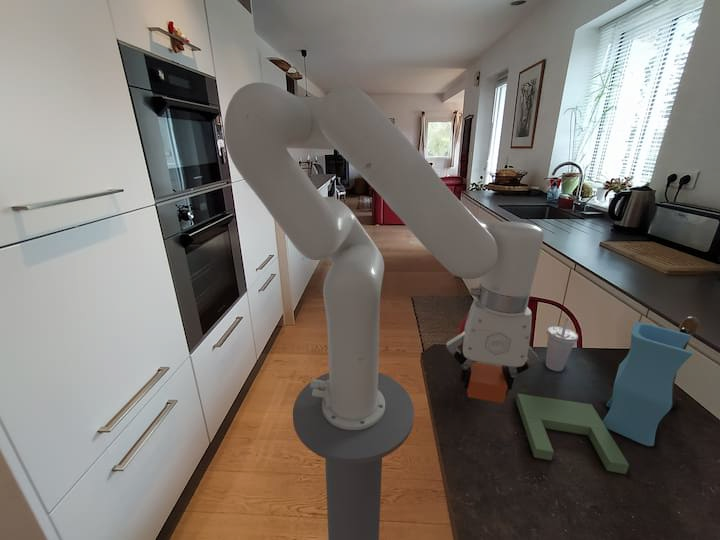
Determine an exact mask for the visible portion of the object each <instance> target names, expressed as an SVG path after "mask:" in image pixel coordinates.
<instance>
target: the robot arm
mask: <svg viewBox="0 0 720 540" xmlns="http://www.w3.org/2000/svg"><path fill="white" fill-rule="evenodd" d="M223 129H224V132H223V134H224V140H225V146H226V149H227V152H228V155H229V157H230V159H231V162H232V163H233V165H234V167H235V168H236V170H237V172H238V173H239V174H240V176H241V178H242V179H243V180H244V182H245V183H246V184H247V185H248V186H249V187H250V189H251V190H252V191H253V193H254V194H255V195H256V196H257V198H258V199H259V201H260V202H261V203H262V204H263V205H264V207H265V208H266V210H267V211H268V213H269V214H270V215H271V218H273V220H274V221H275V222H276V223H277V225H278V226H279V228H280V229H281V230H282V232H283V233H284V234H285V236H286V237H287V238H288V240H289V241H290V242H291V243H292V245H293V246H294V248H295V249H296V250H297V251H298V252H299V253H300V254H301V256H303V257H305V258H306V259H309V260H312V261H321V260H325V259H327V258H328V260H329V261H330V262H331V266H330V268H329V269H328V271H327V273H326V275H325V278H324V281H323V288H322V296H323V305H324V310H325V318H326V329H327V330H326V331H327V348H328V351H327V352H328V373H329V380H327V381H321V380H317V379H316V378H312V379H311V380H310V382H311V384H310V388H311V389H313V391H312V396H314V397H322V398H323V401H322V410H323V414H324V416H325V418H326V419H327V420H328V421H329V422H330V423H331V424H332V425H334V426H336V427H338V428H341V429H345V430H362V429H366V428H369V427H371V426H373V425H374V424H376V423H377V422H378V421H379V420H380V419H381V418H382V416H383V414H384V411H385V399H384V397H383V395H382V393H381V392H380V391H379V390H378V372H379V364H380V363H379V362H380V326H381V325H380V320H381V317H380V316H381V315H380V314H381V313H380V312H381V310H380V309H381V293H382V284H383V279H384V274H385V273H384V272H385V260H384V258H383V256H382V253H381V251H380V250H379V248H378V246H377V245H376V244H375V242H374V241H373V240H372V238H371V237H370V235H369V234H368V232H367V230H366V229H365V228H364V226H363V225H362V224H361V223H360V221H359V219H358V218H357V216H356V215H355V214H354V213H353V211H352V210H351V208H350V207H348V205H346V204H345V203H344V202H343V201H342V200H340V199H338V198H335V197H332V196H323V195H322V194H321V193H320V191H319V190H318V189H317V188H316V186H315V184H314V183H313V182H312V180H311V179H310V177H309V176H308V174H307V173H306V171H305V170H304V169H303V168H302V167H301V165H300V164H299V163H298V162H296V160H295V159H294V158H293V156H291V154H290V152H289V150H288V149H311V150H335V151H337V152H338V153H339V155H341V156H342V157H343V159H345V161H346V162H347V163H349V165H350V166H352V168H353V169H354V170H355V171H356V172H357V173H358V174H359V175H360V176H361V177H362V178H363V179H364V180H365V181H366V182H367V184H368V185H370V186H371V188H372V189H373V190H374V191H375V192H376V193H377V194H378V195H379V196H380V197H381V198H382V200H383V201H384V202H385V203H386V205H387V206H388V207H389V208H390V210H391V211H392V212H393V213H394V214H395V215H396V216H397V217H398V218H399V219H400V220H401V222H402V223H403V224H404V225H405V227H407V229H408V230H409V231H410V232H411V233H412V235H413V236H414V237H415V238H416V239H417V240H418V241H419V243H421V245H423V247H424V248H425V249H426V250H427V251H428V252H429V253H430V254H431V255H432V256H433V257H434V258H435V260H437V261H438V262H439V263H440V264H441V265H442V266H443V267H444V268H445V269H446V270H447V271H448V272H449V273H451V274H452V275H454V276H456V277H457V278H458V277H459V278H460V279H466V280H473V279H479V278H481V280H480V282H479V285H477V286H476V287H470V289H469V296H474V297H475V298H474V299H473V301H472V303H471V306H470V308H469V310H468V314H467V318H466V319H465V324H464V327H463V331H462V332H461V333H460V334H459V333H458V335H456V336H455V337H453V338H452V339H450V340H448V341H446V345H445V346H446V349H447V350H448V352H449V353H450V354H451V355H452V356H453V357H454V359H455V361H457V362H458V364H459V365H460V366H461V369H460V373H459V382H462V383H463V384H462V385H463V389H465V390H467V388H468V385H469V380H470V376H471V365H472V363H473V362H477V361H478V362H484V363H490V364H497V365H502V367H503V368H502V370H503V374H504V377H505V381H506V384H507V387H508V388H507V392H506V396H505V397H508V393H509V390H512V388H513V384H514V380H515V379H516V378H518V377H519V374H521V373H523V372H525V371H526V370H528V369H529V368H531V367H533V366H536V365H537V364H539V363H540V361H541V360H540V358H539V356H538V355H537V353H536V352H535V351H534V350H533V348H532V347H531V346H530V343H531V342H530V341H531V334H532V323H533V322H532V320H533V314H532V311H531V309H530V308H529V307H528V305H529V300H530V297H531V292H532V288H533V285H534V280H535V275H536V271H537V268H538V264H539V259H540V255H541V250H542V246H543V242H544V231H543V230H542V229H541V228H540V227H539V226H537V225H534V224H531V223H526V222H521V221H500V222H498V221H492V220H486V219H482V218H476V216H474V215H473V213H471V211H470V210H469V209H468V208H467V207H466V206H465V204H463V203H462V201H460V199H459V198H458V197H457V196H456V195H455V194H454V193H453V192H452V190H450V188H449V187H448V186H447V184H446V183H445V182H444V181H443V180H442V178H441V177H440V176H439V174H438V173H437V172H436V170H435V169H434V167H433V166H432V165H431V163H430V162H429V160H427V159H426V157H425V156H424V155H423V154H422V152H420V150H418V148H417V147H416V146H415V145H413V143H412V142H411V141H410V140H409V139H408V138H407V137H406V136H405V134H403V132H401V130H400V129H399V128H398V127H397V126H396V125H395V124H394V123H393V122H392V120H391V119H390V118H389V117H388V116H387V115H386V114H385V112H384V111H383V110H382V109H381V108H380V107H379V106H378V105H377V104H376V103H375V102H374V101H373V99H371V98H370V97H369V95H368V94H366V92H364V91H363V90H361V89H360V88H358V87H357V86H353V85H340V86H337V87H335V88H333V89H331V90H330V91H329V92H328V93H327V94H326V95H325V96H311V95H310V96H307V95H305V96H304V95H295V94H293V93H291V92H289V91H287V90H286V89H283V88H282V87H279V86H277V85H275V84H272V83H267V82H251V83H248V84H245V85H244V86H241V87H240V88H239V89H238V90H237V91H236V92H235V93H234V94H233V95H232V97H231V99H230V101H229V102H228V105H227V108H226V111H225V116H224V127H223ZM461 345H462V350H461V349H460V348H458V347H461ZM316 389H317V390H316ZM319 389H321V390H324V391H320V390H319Z"/></svg>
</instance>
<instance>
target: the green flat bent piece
mask: <svg viewBox="0 0 720 540" xmlns="http://www.w3.org/2000/svg"><path fill="white" fill-rule="evenodd" d="M515 402H516V405H517V409H518V412H519V415H520V418H521V421H522V424H523V428H524V430H525V433H526V436H527V440H528V442H529V446H530V449H531V452H532V456H533V458H536V459H542V460H547V461H552V459H553V457H554V452H555V451H554V449H553V446H552V444H551V441H550V439H549V436H548V434H547V431H546V429H548V430H552V431H553V430H554V431H560V432H565V433H572V434H578V435H585V436H587V437H588V438H589V440H590V442H591V443H592V446H593V448H594V450H595V451H596V453H597V455H598V457H599V459H600V460H601V462H602V465H603V466H604V468H605V470H606V471H607V472H612V473H618V474H623V475H627V472H628V470H629V468H630V464H629V463H628V461H627V459H626V457H625V456H624V454H623V453H622V451H621V449H620V448H619V446H618V444H617V443H616V441H615V439H614V437H613V436H612V435H611V434H610V432H609V429H607V428H606V427H605V425H604V424H603V422H602V421H603V420H602V419H601V417H600V415H599V413H598V412H597V411H596V409H595V407H594V406H593V404H590V403H584V402H578V401H570V400H566V399H565V400H563V399H557V398H552V397H544V396H537V395H531V394H523V393H517V395H516V399H515Z"/></svg>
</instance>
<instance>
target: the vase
mask: <svg viewBox="0 0 720 540" xmlns="http://www.w3.org/2000/svg"><path fill="white" fill-rule="evenodd" d="M630 335H631V336H630V346H629V347H630V348H629V351H628V353H627V355H626V356H625V357H624V359H623V360H622V361H621V363H619V365H618V368H617V372H616V375H615V379H614V383H613V387H612V396H611V397H610V399H609V400H608V401H607V403H606V407H607V408H609V410H608V412H607V413H606V415H605V417H604V418H603V420H602V422H603V424H604V425H605V427H606V428H607V430H609V431H612V432H614V433H617V434H619V435H621V436H623V437H625V438H628V439H630V440H631V441H634V442H636V443H639V444H641V445H643V446H647V447H654V445H655V439H656V433H657V429H658V425H659V424H660V422H661V421H662V419H663V418H664V417H665V416H666V415H667V414H668V413H669V412H670V411H671V410H672V408H671V407H672V385H673V381H674V377H675V375H676V376H677V374H678V371H679V370H680V369H681V367H682V366H683V365H684V364H685V363H686V362H687V361H688V360H689V359H690V358H691V357H692V356H693V351H691V350H688V349H682V348H683V347H684V346H685V344H686V343H687V342H688V341H689V342H690V340H691V338H692V336H691V335H689V334H685V333H681V332H680V331H678V330H675V329H670V328H667V327H662V326H658V325H654V324H651V323H647V322H642V321H635V322H633V326H632V330H631V333H630ZM689 342H688V343H689ZM676 373H677V374H676Z"/></svg>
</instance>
